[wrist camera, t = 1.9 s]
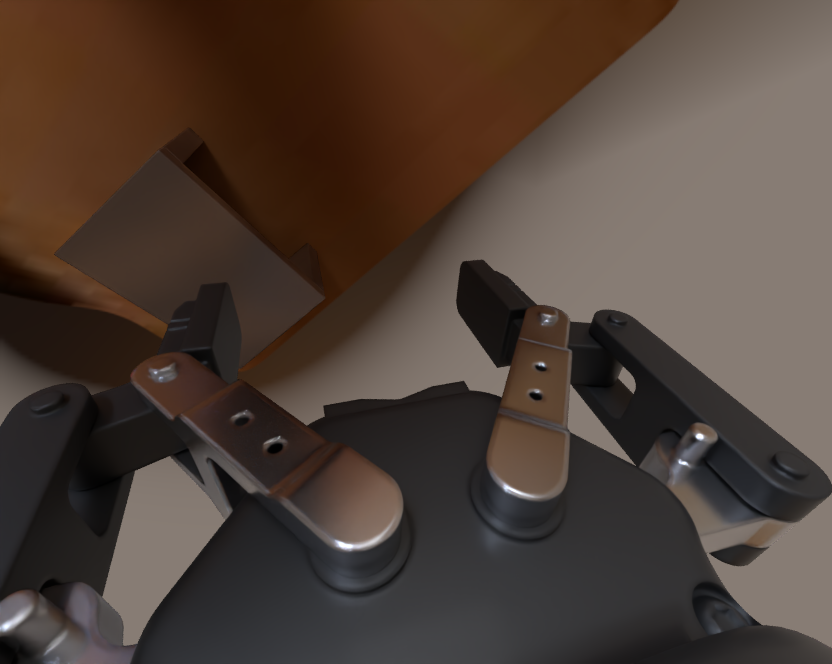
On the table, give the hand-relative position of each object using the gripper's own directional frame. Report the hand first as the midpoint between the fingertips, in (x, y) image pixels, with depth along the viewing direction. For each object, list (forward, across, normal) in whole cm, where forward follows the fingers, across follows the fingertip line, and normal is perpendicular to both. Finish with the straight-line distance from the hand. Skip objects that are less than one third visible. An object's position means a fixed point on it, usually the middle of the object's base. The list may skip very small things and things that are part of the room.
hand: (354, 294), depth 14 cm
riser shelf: (+23, +8, +6) cm, 25 cm away
